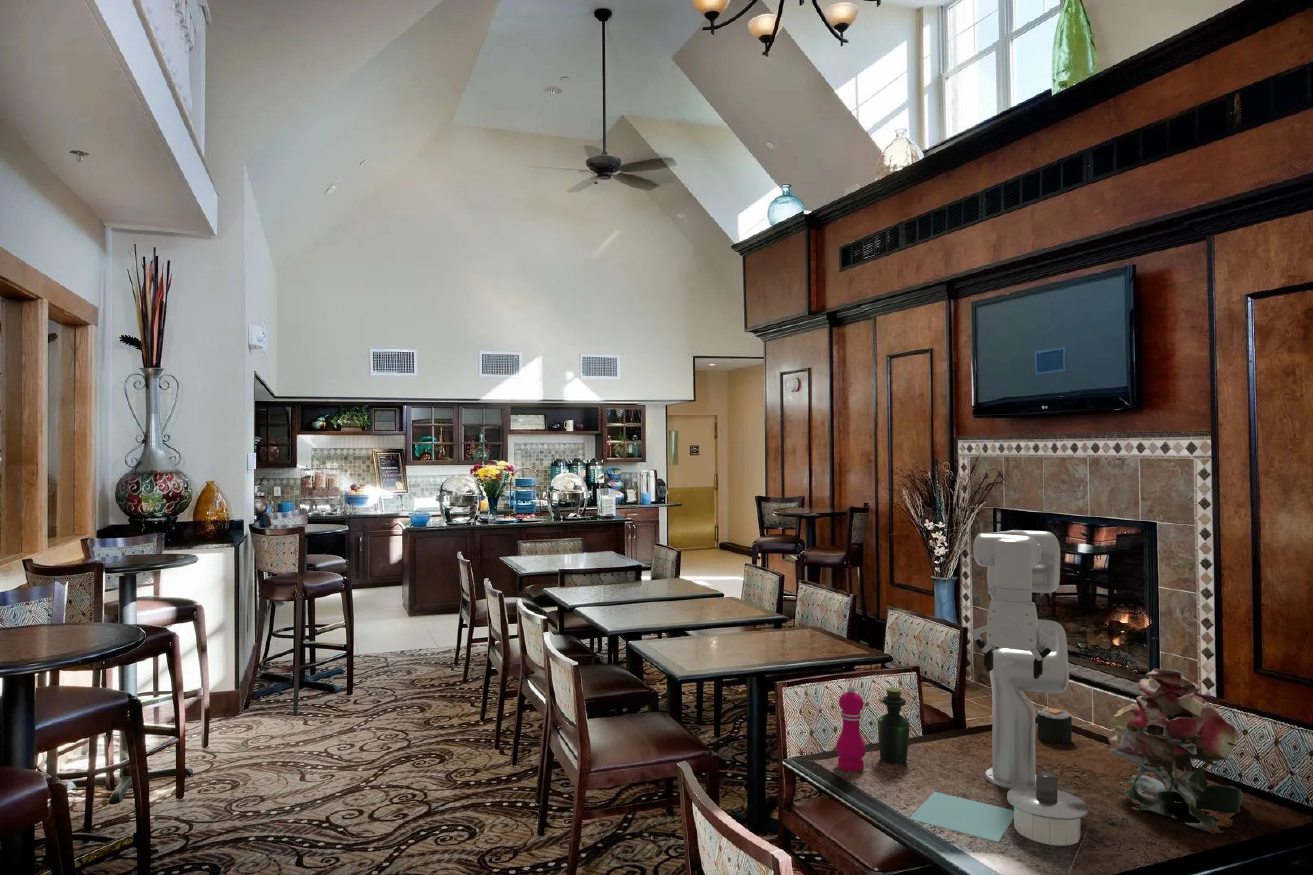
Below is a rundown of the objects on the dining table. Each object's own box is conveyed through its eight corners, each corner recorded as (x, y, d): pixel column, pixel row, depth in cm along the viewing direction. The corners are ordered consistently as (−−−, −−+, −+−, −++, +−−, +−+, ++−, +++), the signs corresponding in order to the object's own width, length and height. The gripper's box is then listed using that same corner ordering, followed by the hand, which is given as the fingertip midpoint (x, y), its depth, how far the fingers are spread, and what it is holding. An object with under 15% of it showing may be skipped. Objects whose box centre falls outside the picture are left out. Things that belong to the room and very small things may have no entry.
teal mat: (934, 793, 191) (934, 791, 192) (1018, 813, 181) (1018, 811, 181) (908, 820, 177) (908, 818, 177) (998, 843, 166) (998, 841, 166)
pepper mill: (866, 773, 203) (866, 690, 204) (836, 770, 205) (836, 688, 205) (864, 762, 210) (865, 683, 211) (835, 760, 212) (836, 681, 212)
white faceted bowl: (1022, 816, 180) (1022, 788, 180) (1083, 831, 173) (1083, 801, 173) (1009, 836, 170) (1009, 806, 170) (1074, 852, 163) (1074, 821, 163)
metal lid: (1015, 784, 182) (1015, 757, 182) (1092, 801, 173) (1092, 773, 173) (999, 806, 170) (999, 778, 170) (1081, 826, 161) (1081, 796, 161)
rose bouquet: (1247, 798, 191) (1246, 667, 192) (1228, 840, 169) (1228, 692, 170) (1122, 769, 208) (1122, 649, 209) (1091, 805, 186) (1090, 670, 187)
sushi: (1076, 741, 230) (1076, 711, 230) (1058, 745, 225) (1058, 716, 226) (1050, 732, 236) (1050, 704, 237) (1031, 737, 232) (1031, 708, 233)
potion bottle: (913, 758, 214) (913, 688, 214) (906, 768, 207) (906, 695, 207) (881, 752, 218) (881, 683, 218) (873, 762, 211) (873, 690, 211)
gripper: (967, 593, 184) (967, 671, 184) (1053, 602, 174) (1052, 684, 174) (976, 589, 190) (976, 664, 190) (1059, 597, 180) (1059, 676, 180)
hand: (1012, 673), depth 182 cm, fingers open, 9 cm apart
